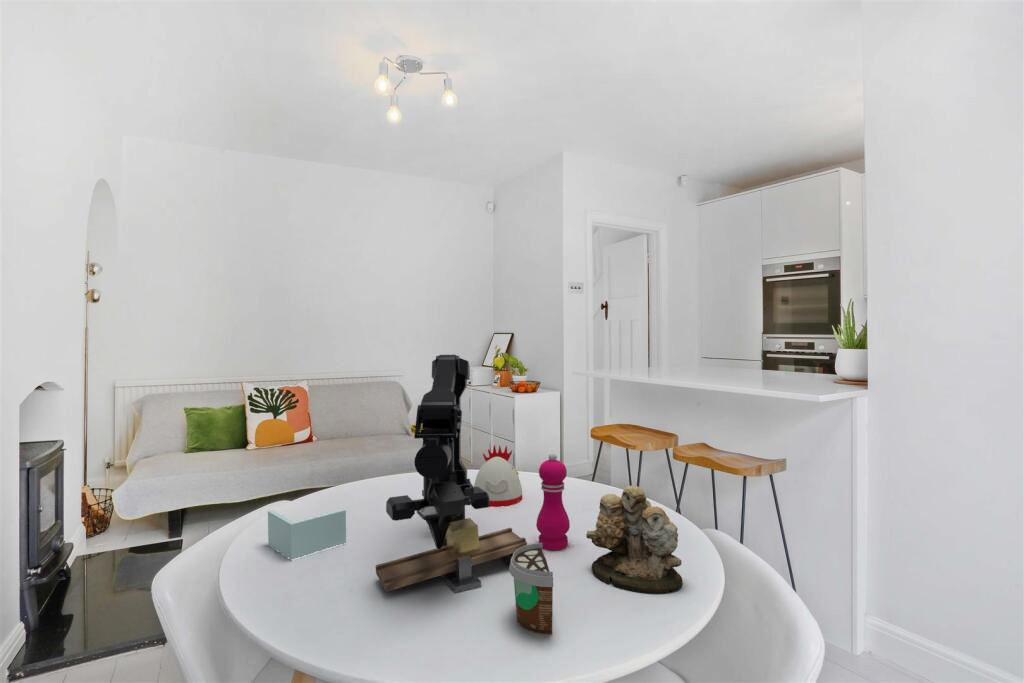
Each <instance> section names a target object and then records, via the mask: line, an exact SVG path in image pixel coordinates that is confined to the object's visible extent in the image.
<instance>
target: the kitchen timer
mask: <svg viewBox="0 0 1024 683" xmlns="http://www.w3.org/2000/svg"><path fill="white" fill-rule="evenodd" d="M487 452H488V457H487V456H486V455H485V453H484V452H483V453H482V456H483V458H484V460H485V462H483V464H482V465H481V467H480V469H479V470H478V472H477V474H476V478H475V481H474V484H473V487H479V488H481V489H482V490H484V491H485V492H487V493H488V495H489V507H490V508H492V507H493V508H497V507H498V508H500V507H501V506H504V507H510V505H511V506H514V505H517V504H519V503H521V502H522V501H523V489H522V488H523V487H522V483H521V480H520V478H519V472H518V470H516V469H515V467H514V466H513V464H512V463H511V462H510V461H509V460H510V457H511V455H512V453H513V449H511V450H510V451H509V453H508V446H507V445H505V447H504V451H502V448H501V445H500V444H499V446H498V451H497V449H496V445H495V444H493V449H492V452H491V450H490V448H488V449H487ZM521 500H522V501H521ZM520 501H521V502H520ZM489 507H488V508H489Z"/></svg>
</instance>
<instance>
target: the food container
mask: <svg viewBox="0 0 1024 683" xmlns="http://www.w3.org/2000/svg"><path fill="white" fill-rule="evenodd" d="M508 567H509V568H508V571H509V574H510V575H511V577H513V585H514V586H513V587H514V596H515V598H514V599H515V600H514V601H515V611H516V621H517V623H518V624H519V626H520V627H522V628H523V629H525V630H527V631H528V632H532V633H535V634H539V635H552V634H553V602H554V600H553V598H554V596H553V594H554V592H553V590H554V589H553V587H554V572H553V571H550V568H549V565H548V561H547V558H546V556H545V553H544V551H543V548H542V543H539V542H536V543H535V542H534V543H531V544H530V543H529V544H527V545H526V546H523V547H521V548H519V549H517V550H516V551H515V552H514V553H513V556H512V558H511V562H510V565H509V566H508Z"/></svg>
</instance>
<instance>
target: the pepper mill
mask: <svg viewBox="0 0 1024 683" xmlns="http://www.w3.org/2000/svg"><path fill="white" fill-rule="evenodd" d="M557 458H558V456H557V454H556V453H555V452H551V453H549V454H548V459H547V460H545V461H543V462H542V463H541V464H540V466H539V469H538V476H539V478H540V479H541V491H543V492H542V493H543V503H542V506H541V509H540V510H539V513H538V515H537V518H536V524H535V526H536V529H537V531H538V532H539V533H540V534H539V535H538V543H542V549H544V550H547V551H548V550H549V551H561V550H563V549H566V548H567V547H568V545H569V544H568V543H569V542H568V540H569V539H568V536H567V535H566V534H567V533H568V532H569V531H570V526H571V525H570V523H571V522H570V519H569V516H568V513H567V511H566V509H565V505H564V504H563V491H564V490H565V482H564V480H565V479H566V478H567V467H566V465H565V464H564V463H563V462H562V461H561V460H558V459H557Z"/></svg>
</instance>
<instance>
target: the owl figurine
mask: <svg viewBox="0 0 1024 683" xmlns="http://www.w3.org/2000/svg"><path fill="white" fill-rule="evenodd" d="M596 519H597V520H596V522H595V528H596V529H595V530H588V531H586V535H585V537H586V539H590V540H591V544H593V545H594V546H595V547H597V548H601V549H602V548H603V549H607V550H608V552H606V553H604V554H603V555H600V556H599V557H597V559H596V560H594V561H593V562H592V563H591V571H592V574H593V576H595V578H596V579H597V580H599V581H601V582H602V583H603V582H604V583H606V584H607V585H609V584H610V583H611V585H612V586H613V587H614V588H618V589H622V590H625V591H629V592H634V593H640V594H641V593H642V594H652V595H657V594H658V595H660V594H663V595H664V594H667V593H670V591H671V592H672V593H673V592H677V591H678V590H680V589H681V588H682V587H683V584H684V583H683V578H682V576H681V574H680V573H679V572H678V571H677V570H676V569H675V568H678V567H680V566H682V559H681V558H679V557H677V556H675V555H673V554H672V553H674V552H675V551H676V549H677V548H678V542H679V539H678V537H679V533H678V526H677V525H675V524H674V522H672V521H671V520H670V517H669V516H668V515H667V513H666V511H665V510H664V509H663V508H661V507H658V506H652V504H651V502H650V501H649V500H647V494H646V492H645V491H644V490H643V489H642V488H641V487H639V486H638V485H637V486H636V485H634V484H633V485H629V486H626V487H624V488H623V490H622V494H621V497H620V496H618V495H616V494H615V493H606V494H604V495H602V496H601V498H600V501H599V512H598V515H597V518H596ZM610 578H611V579H610Z"/></svg>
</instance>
